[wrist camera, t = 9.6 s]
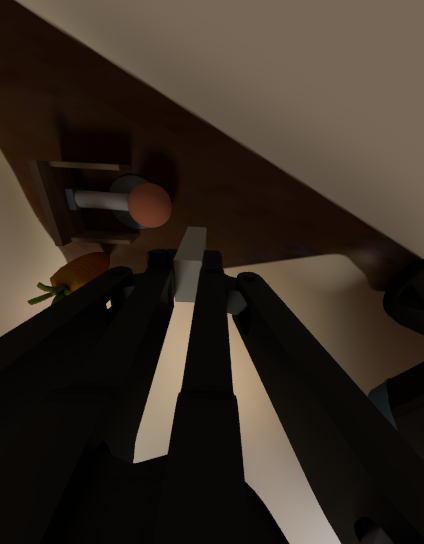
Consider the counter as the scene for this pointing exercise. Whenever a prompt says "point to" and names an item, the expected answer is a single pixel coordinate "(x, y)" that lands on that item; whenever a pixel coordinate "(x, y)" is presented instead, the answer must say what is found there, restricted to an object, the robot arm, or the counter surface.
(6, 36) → the counter surface
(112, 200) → the pin
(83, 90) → the counter surface
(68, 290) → the carrot
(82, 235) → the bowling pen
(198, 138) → the counter surface
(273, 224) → the counter surface
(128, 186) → the pin disc
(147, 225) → the ball
